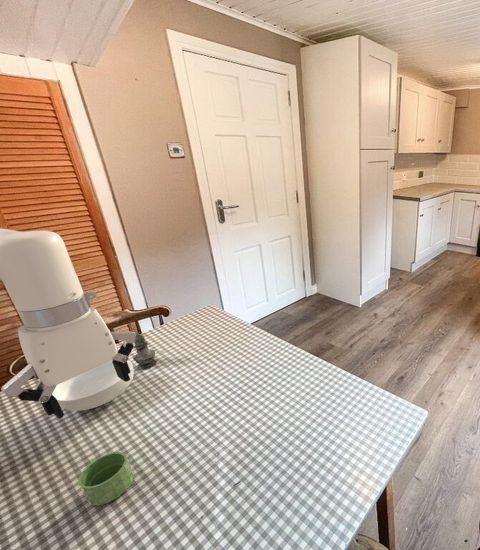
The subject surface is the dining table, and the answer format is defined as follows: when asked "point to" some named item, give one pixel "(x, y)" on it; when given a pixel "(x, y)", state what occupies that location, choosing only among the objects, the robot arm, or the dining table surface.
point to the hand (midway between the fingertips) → (93, 395)
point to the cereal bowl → (92, 387)
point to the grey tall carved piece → (143, 353)
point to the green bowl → (106, 478)
